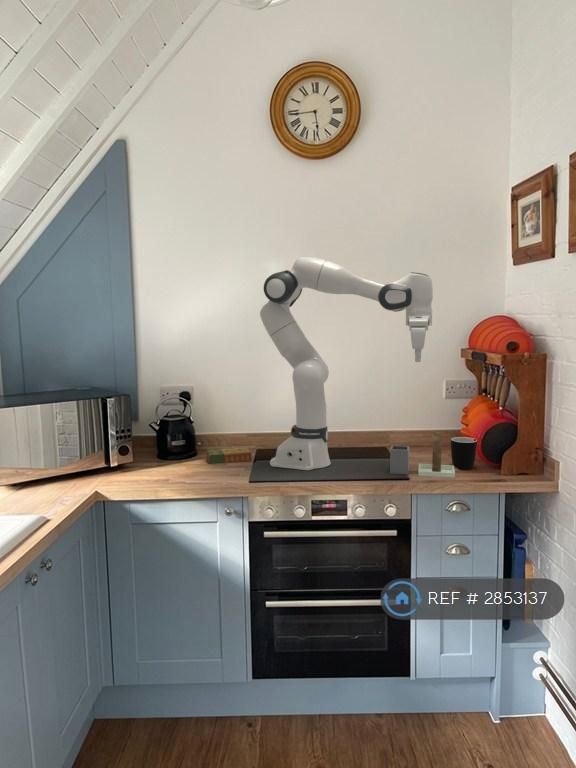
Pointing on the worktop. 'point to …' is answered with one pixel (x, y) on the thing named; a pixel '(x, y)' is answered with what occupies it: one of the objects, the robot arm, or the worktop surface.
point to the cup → (399, 460)
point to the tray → (445, 472)
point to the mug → (463, 452)
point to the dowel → (436, 452)
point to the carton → (228, 455)
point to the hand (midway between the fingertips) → (418, 360)
